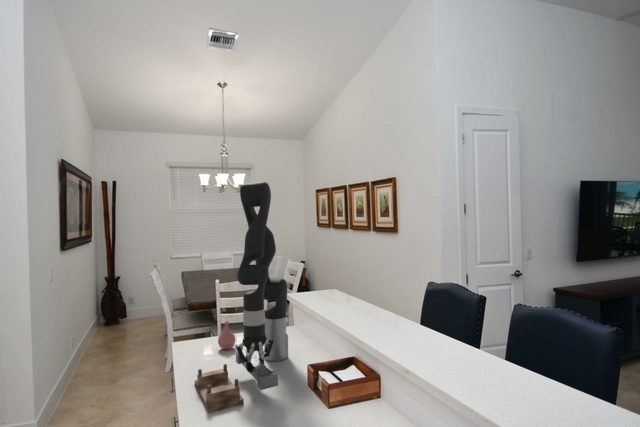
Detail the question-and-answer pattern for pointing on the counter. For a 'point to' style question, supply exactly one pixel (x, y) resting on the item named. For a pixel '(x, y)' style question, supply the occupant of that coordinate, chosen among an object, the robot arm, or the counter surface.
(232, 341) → the pink teardrop shape
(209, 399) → the rack
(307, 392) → the counter surface
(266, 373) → the grey flared end bar
